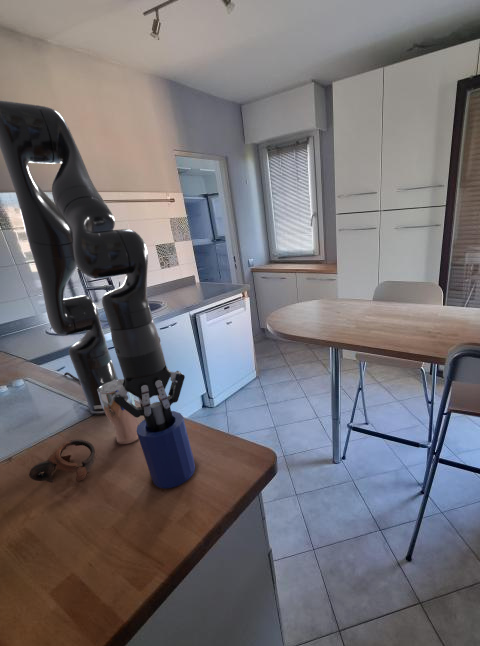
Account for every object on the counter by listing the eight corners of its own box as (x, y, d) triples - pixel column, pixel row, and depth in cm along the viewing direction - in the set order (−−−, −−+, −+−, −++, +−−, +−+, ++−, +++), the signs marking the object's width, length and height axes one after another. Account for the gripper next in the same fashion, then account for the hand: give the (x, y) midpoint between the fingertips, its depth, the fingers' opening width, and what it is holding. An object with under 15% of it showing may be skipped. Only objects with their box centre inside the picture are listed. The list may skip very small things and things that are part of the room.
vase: (147, 472, 73) (131, 423, 68) (186, 453, 78) (174, 406, 73) (160, 495, 67) (144, 443, 61) (201, 473, 72) (189, 423, 66)
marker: (164, 460, 71) (147, 404, 66) (174, 455, 72) (159, 400, 67) (167, 465, 70) (151, 409, 64) (178, 460, 71) (162, 404, 65)
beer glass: (123, 449, 81) (104, 396, 75) (109, 439, 85) (91, 388, 79) (149, 434, 86) (134, 383, 80) (135, 425, 90) (120, 376, 84)
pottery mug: (80, 454, 81) (87, 430, 78) (100, 482, 78) (107, 459, 74) (19, 476, 71) (24, 449, 68) (39, 509, 67) (44, 483, 64)
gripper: (169, 332, 67) (186, 405, 74) (92, 352, 59) (119, 432, 66) (183, 341, 62) (200, 419, 69) (100, 365, 54) (129, 450, 61)
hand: (160, 425), depth 67 cm, fingers closed on marker, 2 cm apart
